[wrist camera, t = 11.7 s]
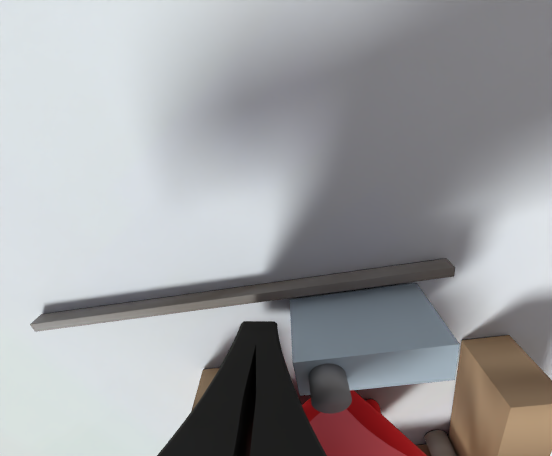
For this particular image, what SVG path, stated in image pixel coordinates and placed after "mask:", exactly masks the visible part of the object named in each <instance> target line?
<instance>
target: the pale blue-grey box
mask: <svg viewBox="0 0 552 456" xmlns="http://www.w3.org/2000/svg"><path fill="white" fill-rule="evenodd" d="M290 314H291V336H292V358H293V366H294V371H295V375H296V380H297V385H298V389H299V394H300V396H301V395H310V396H311V404H312V406H313V407H314V408H315V409H316V410H317V411H319V412H322V413H328V414H332V413H338V412H341V411H344V410H345V409H347V408H348V407H349V406H350V404H351V402H352V397H351V393H350V390H360V389H370V388H380V387H390V386H400V385H410V384H420V383H429V382H439V381H449V380H455V375H456V367H457V360H458V353H459V345H460V344H459V343H458V341H457V340H456V338H455V337H454V335H453V334H452V333H451V331H450V330H449V328H448V327H447V326H446V324H445V323H444V321H443V320H442V319H441V317H440V316H439V314H438V313H437V312H436V310H435V309H434V307H433V306H432V304H431V303H430V302H429V300H428V299H427V297H426V296H425V295H424V293H423V292H422V290H421V289H420V288H419V286H418V285H417V283H411V284H403V285H396V286H388V287H381V288H373V289H365V290H358V291H350V292H343V293H335V294H328V295H320V296H312V297H305V298H297V299H290Z"/></svg>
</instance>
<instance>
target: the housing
mask: <svg viewBox="0 0 552 456" xmlns="http://www.w3.org/2000/svg"><path fill="white" fill-rule="evenodd" d="M454 272H455V267H454V266H453V265H452V264H451V263H450V262H449V261H448V260H447V259H440V260H432V261H425V262H418V263H411V264H403V265H396V266H389V267H382V268H374V269H367V270H360V271H353V272H345V273H338V274H331V275H324V276H316V277H309V278H302V279H294V280H287V281H280V282H273V283H265V284H258V285H251V286H244V287H236V288H229V289H222V290H215V291H207V292H200V293H193V294H186V295H178V296H171V297H164V298H157V299H149V300H142V301H135V302H128V303H120V304H113V305H106V306H99V307H91V308H84V309H77V310H70V311H62V312H55V313H48V314H41V315H40V316H39V317H38V318H37V319H36V320H35V321H33V322H32V323H31V324H30V325H31V327H32V328H33V329H34V331H35V332H37V331H44V330H52V329H59V328H67V327H74V326H82V325H90V324H97V323H105V322H112V321H120V320H127V319H135V318H143V317H150V316H158V315H165V314H173V313H180V312H188V311H195V310H203V309H211V308H218V307H226V306H233V305H241V304H248V303H256V302H263V301H271V300H279V299H286V298H294V297H301V296H309V295H316V294H324V293H332V292H339V291H347V290H354V289H362V288H369V287H377V286H384V285H392V284H400V283H407V282H415V281H422V280H430V279H437V278H445V277H453V276H454ZM218 370H219V368H213V369H204V370H203V372H202V375H201V379H200V382H199V386H198V390H197V393H196V397H195V400H194V404H193V407H192V410H193V409H194V407H195V406H196V405H197V403H198V402H199V400H200V399H201V397H202V396H203V394H204V393H205V391H206V389H207V388H208V386H209V385H210V383H211V381H212V380H213V378H214V377H215V375H216V373H217V372H218ZM191 412H192V411H191ZM424 439H425V441H426V444H425V445H416V446H417V447H418V448H419V449H420V450H421V451H422V452H424V453H425V454H426V455H427V456H550V454H551V452H552V380H551V379H550V378H549V377H548V376H547V375H546V374H545V373H544V372H543V371H542V370H541V368H540V367H539V366H538V365H537V364H536V363H535V362H534V361H533V360H532V359H531V358H530V357H529V356H528V355H527V354H526V353H525V351H524V350H523V349H522V348H521V347H520V346H519V345H518V344H517V343H516V342H515V341H514V340H513V339H512V338H511V337H510V336H509V335H506V336H497V337H488V338H479V339H470V340H462V342H461V349H460V357H459V364H458V371H457V378H456V385H455V392H454V400H453V407H452V414H451V421H450V428H449V436H447V434H446V433H445V432H444V431H441V430H434V431H431V432H428V433H427V434H426V435H425V437H424Z"/></svg>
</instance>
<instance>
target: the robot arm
mask: <svg viewBox="0 0 552 456" xmlns="http://www.w3.org/2000/svg"><path fill="white" fill-rule="evenodd" d="M157 456H327V455H326V453H325V451H324V449H323V448H322V446H321V444H320V442H319V440H318V438H317V436H316V434H315V432H314V430H313V428H312V426H311V424H310V422H309V420H308V418H307V416H306V414H305V412H304V409H303V407H302V405H301V403H300V400H299V398H298V396H297V393H296V391H295V388H294V386H293V383H292V380H291V378H290V375H289V372H288V369H287V366H286V363H285V360H284V357H283V354H282V350H281V346H280V342H279V337H278V329H277V323H275V322H252V321H244V322H243V323H241V325H240V328H239V331H238V333H237V335H236V338H235V340H234V342H233V344H232V346H231V348H230V350H229V352H228V354H227V356H226V357H225V359H224V361H223V363H222V365H221V366H220V368H219V370H218V372H217V373H216V375H215V377H214V378H213V380H212V381H211V383H210V385H209V386H208V388H207V389H206V391H205V393H204V394H203V396H202V397H201V399H200V400H199V402H198V403H197V405H196V406H195V407H194V409H193V410H192V412H191V413H190V414H189V416H188V417H187V418H186V420H185V421H184V423H183V424H182V425H181V426H180V428H179V429H178V430H177V432H176V433H175V434H174V435H173V437H172V438H171V439H170V440H169V442H168V443H167V444H166V446H165V447H164V448H163V449H162V450H161V452H160V453H159V454H158V455H157Z"/></svg>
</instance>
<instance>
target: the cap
mask: <svg viewBox="0 0 552 456" xmlns="http://www.w3.org/2000/svg"><path fill="white" fill-rule="evenodd" d="M350 393H351V397H352V402H351V404H350V406H349V407H348V408H347V409H345V410H344V411H341V412H338V413H332V414H328V413H322V412H319V411H317V410H316V409H315V408H314V407H313V406H312V404H311V398H310V399H309V400H307V401H306V402H305V403H304V404H303V405H302V407H303V409H304V412H305V414H306V416H307V418H308V420H309V422H310V424H311V426H312V428H313V430H314V432H315V434H316V436H317V438H318V440H319V442H320V444H321V446H322V448H323V449H324V451H325V453H326V455H327V456H427V455H426V454H425V453H424V452H422V451H421V450H420V449H419V448H418V447H417V446H416V445H415V444H414V443H413V442H411V441H410V440H409V439H408V438H407V437H406V436H405V435H404V434H403V433H402V432H400V431H399V430H398V429H397V428H396V427H395V426H394V425H393V424H392V423H390V422H389V421H388V420H387V419H386V418H385V417H384V416H383V415H382V414H381V410H380V407H379V404H378V403H377V402H376V401H375V400H373V399H368V400H366V401H365V400H364V399H363V398H362V397H361V396H360V395H359V394H358V393H356V392H355V391H354V390H350Z"/></svg>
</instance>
